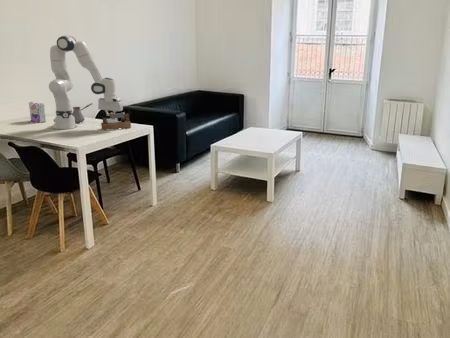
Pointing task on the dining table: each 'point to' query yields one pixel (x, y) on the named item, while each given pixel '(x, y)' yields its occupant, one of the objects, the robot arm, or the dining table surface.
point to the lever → (118, 116)
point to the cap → (112, 120)
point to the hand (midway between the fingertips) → (110, 115)
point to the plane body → (116, 124)
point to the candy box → (37, 112)
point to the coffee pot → (78, 114)
